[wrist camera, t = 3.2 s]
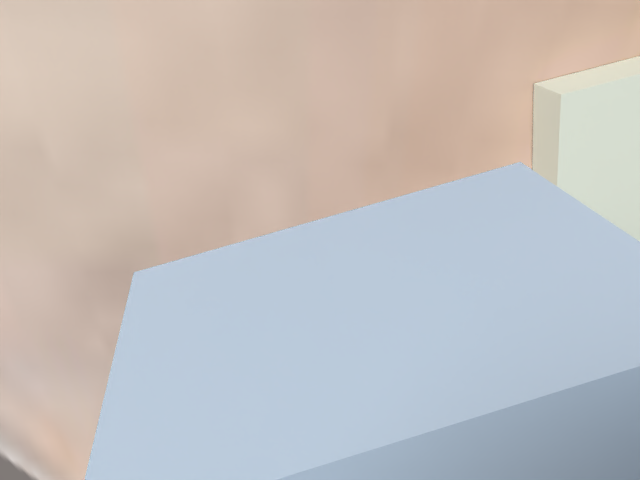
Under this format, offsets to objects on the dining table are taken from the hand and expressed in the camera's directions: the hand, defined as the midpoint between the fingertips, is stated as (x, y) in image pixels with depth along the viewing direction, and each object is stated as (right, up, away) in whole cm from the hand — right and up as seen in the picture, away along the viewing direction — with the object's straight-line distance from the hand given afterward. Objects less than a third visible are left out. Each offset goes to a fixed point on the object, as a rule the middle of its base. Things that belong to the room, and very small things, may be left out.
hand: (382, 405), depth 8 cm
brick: (0, +1, +1) cm, 1 cm away
